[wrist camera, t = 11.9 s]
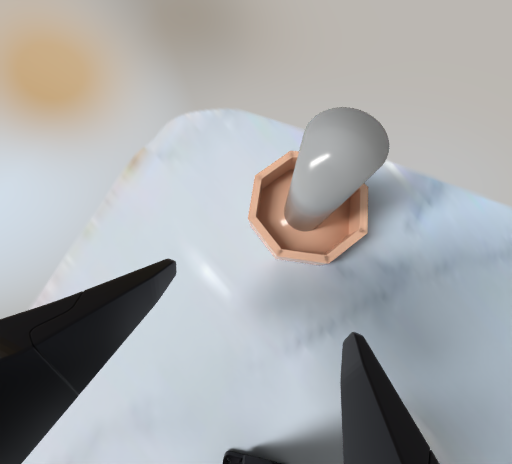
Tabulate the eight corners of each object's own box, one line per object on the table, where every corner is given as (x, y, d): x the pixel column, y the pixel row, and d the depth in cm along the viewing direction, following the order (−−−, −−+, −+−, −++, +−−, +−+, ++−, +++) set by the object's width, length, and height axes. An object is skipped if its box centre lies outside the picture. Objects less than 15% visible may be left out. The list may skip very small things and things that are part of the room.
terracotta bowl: (351, 270, 22) (366, 269, 19) (246, 255, 23) (242, 251, 20) (354, 174, 25) (368, 157, 21) (260, 164, 26) (259, 147, 23)
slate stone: (331, 224, 23) (404, 164, 11) (291, 236, 23) (321, 190, 11) (315, 188, 24) (366, 97, 12) (278, 200, 24) (291, 120, 12)
